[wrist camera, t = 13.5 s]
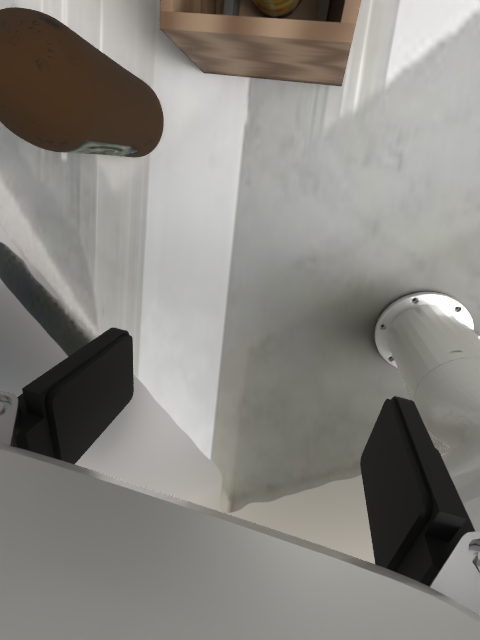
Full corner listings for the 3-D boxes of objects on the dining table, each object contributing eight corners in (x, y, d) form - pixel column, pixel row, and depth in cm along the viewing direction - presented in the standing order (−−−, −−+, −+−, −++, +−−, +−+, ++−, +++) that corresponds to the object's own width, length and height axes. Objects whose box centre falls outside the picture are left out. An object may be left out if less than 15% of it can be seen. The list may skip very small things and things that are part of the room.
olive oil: (96, 67, 41) (-171, -77, 18) (170, 76, 39) (-25, -70, 17) (100, 156, 45) (-110, 127, 23) (166, 167, 44) (9, 147, 21)
